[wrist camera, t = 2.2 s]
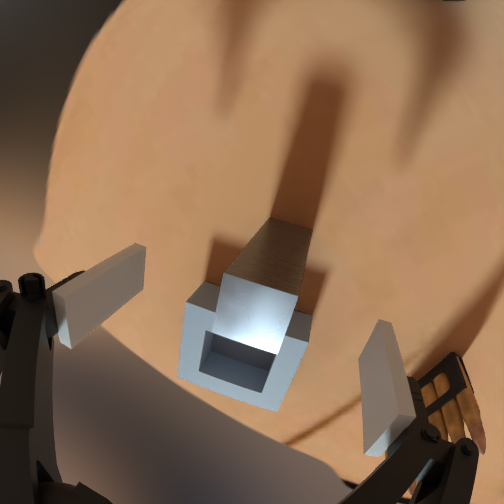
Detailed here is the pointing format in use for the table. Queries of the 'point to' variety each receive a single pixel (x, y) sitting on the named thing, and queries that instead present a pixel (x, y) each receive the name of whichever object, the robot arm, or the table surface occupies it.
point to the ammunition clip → (451, 403)
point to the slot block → (237, 355)
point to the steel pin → (263, 286)
